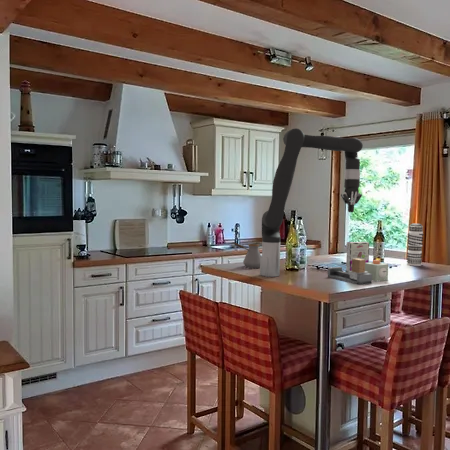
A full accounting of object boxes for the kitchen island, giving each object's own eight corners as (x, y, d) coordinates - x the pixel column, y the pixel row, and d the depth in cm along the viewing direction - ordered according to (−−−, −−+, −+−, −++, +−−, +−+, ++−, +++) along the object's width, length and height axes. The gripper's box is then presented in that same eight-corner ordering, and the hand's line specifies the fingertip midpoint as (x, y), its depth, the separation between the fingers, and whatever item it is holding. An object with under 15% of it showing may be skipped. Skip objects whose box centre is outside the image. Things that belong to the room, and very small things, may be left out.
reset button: (376, 269, 234) (376, 261, 234) (371, 268, 237) (371, 260, 237) (381, 268, 236) (381, 260, 235) (376, 267, 239) (376, 259, 238)
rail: (359, 284, 222) (359, 275, 221) (327, 276, 241) (328, 267, 241) (371, 283, 226) (372, 273, 225) (339, 275, 245) (340, 266, 245)
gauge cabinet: (376, 281, 231) (377, 265, 230) (363, 278, 238) (364, 262, 238) (388, 280, 235) (389, 264, 234) (375, 277, 242) (376, 261, 241)
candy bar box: (364, 271, 261) (365, 241, 260) (368, 272, 256) (369, 242, 255) (345, 271, 259) (346, 241, 258) (349, 273, 254) (350, 242, 253)
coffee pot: (254, 265, 275) (254, 239, 274) (267, 267, 266) (268, 241, 265) (225, 268, 262) (225, 241, 261) (238, 271, 253) (238, 243, 252)
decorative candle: (418, 263, 293) (420, 223, 291) (424, 266, 284) (426, 224, 282) (403, 263, 293) (405, 223, 291) (409, 265, 284) (411, 224, 282)
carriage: (357, 280, 224) (357, 260, 223) (348, 278, 229) (348, 258, 228) (367, 279, 227) (368, 259, 226) (358, 277, 232) (359, 257, 232)
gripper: (356, 178, 249) (355, 211, 250) (337, 178, 243) (336, 211, 244) (367, 178, 243) (365, 212, 244) (347, 178, 236) (346, 212, 238)
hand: (350, 212), depth 244 cm, fingers closed
